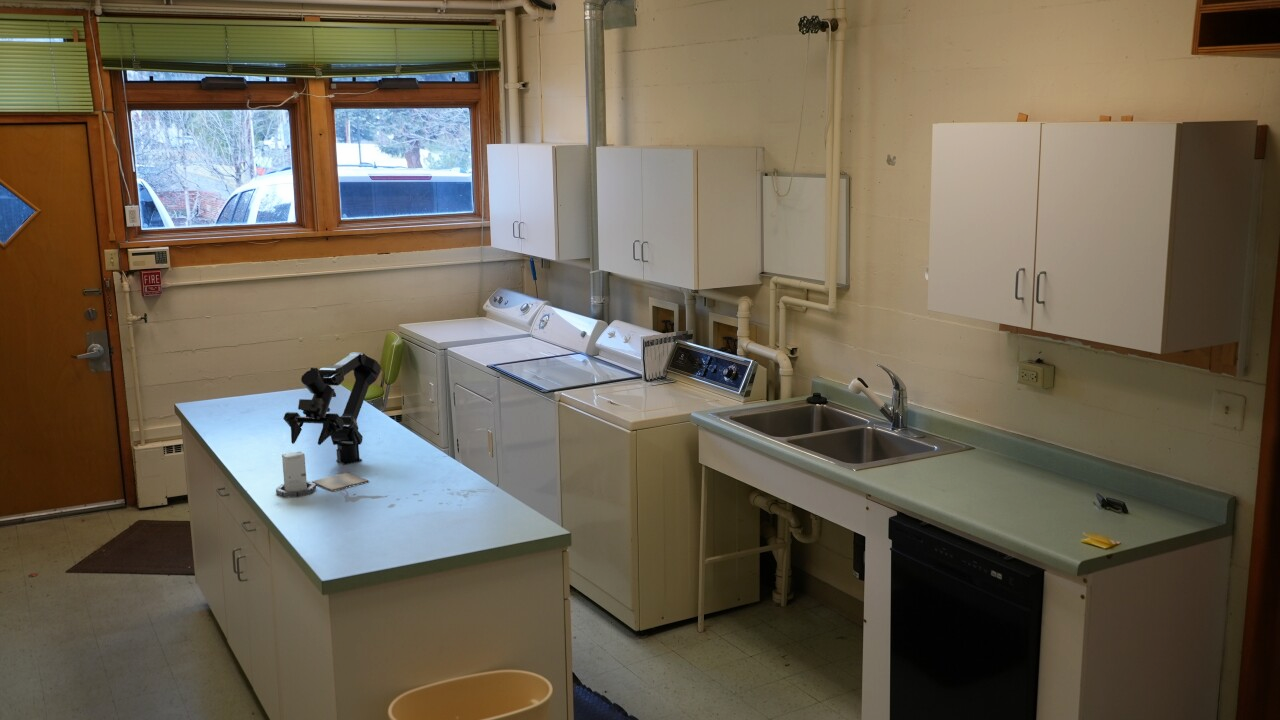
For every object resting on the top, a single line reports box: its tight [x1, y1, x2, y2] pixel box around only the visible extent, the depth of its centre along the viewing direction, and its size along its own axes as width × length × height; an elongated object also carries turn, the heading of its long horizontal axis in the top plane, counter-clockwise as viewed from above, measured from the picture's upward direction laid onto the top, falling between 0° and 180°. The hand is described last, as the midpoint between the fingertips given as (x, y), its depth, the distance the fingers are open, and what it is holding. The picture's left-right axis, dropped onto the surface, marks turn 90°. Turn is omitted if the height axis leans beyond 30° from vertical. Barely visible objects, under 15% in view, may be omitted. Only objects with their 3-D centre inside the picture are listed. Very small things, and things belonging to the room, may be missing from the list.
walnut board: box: [311, 471, 370, 492], centre depth 352 cm, size 13×13×1 cm
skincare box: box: [281, 451, 308, 491], centre depth 343 cm, size 6×4×12 cm
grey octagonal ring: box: [275, 480, 317, 498], centre depth 344 cm, size 11×11×2 cm
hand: (305, 443), depth 349 cm, fingers open, 9 cm apart
